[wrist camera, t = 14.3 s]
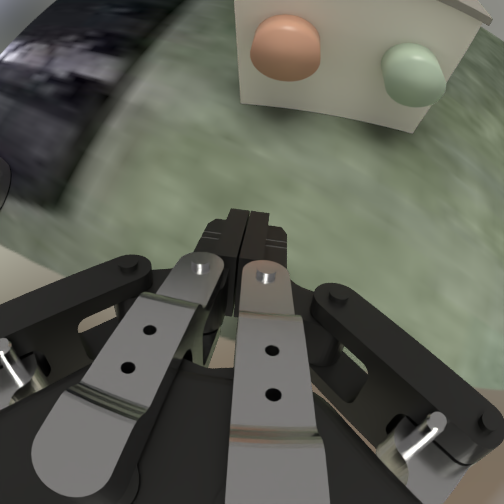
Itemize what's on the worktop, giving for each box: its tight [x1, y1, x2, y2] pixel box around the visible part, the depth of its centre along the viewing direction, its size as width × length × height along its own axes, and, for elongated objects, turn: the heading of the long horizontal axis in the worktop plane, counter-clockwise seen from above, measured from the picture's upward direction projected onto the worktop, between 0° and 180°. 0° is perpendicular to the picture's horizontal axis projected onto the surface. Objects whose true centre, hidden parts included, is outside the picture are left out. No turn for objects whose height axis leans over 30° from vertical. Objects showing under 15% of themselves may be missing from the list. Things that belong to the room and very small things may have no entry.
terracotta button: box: [250, 14, 321, 82], centre depth 20 cm, size 5×8×5 cm, turn 172°
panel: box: [234, 0, 493, 134], centre depth 20 cm, size 19×4×17 cm, turn 82°
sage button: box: [381, 43, 446, 107], centre depth 19 cm, size 5×8×5 cm, turn 172°
